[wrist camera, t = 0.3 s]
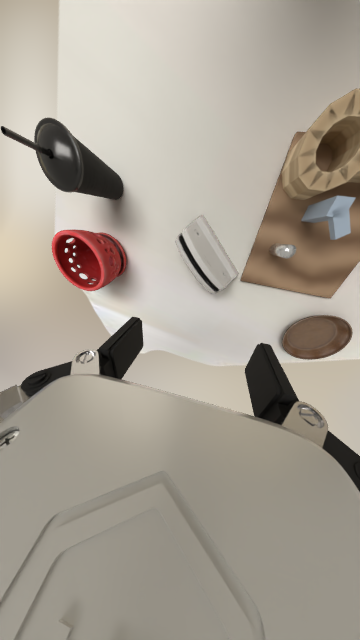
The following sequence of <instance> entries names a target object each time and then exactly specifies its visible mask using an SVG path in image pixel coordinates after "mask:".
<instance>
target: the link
mask: <svg viewBox="0 0 360 640" xmlns="http://www.w3.org/2000/svg"><path fill="white" fill-rule="evenodd" d="M319 143H324V144H328V145H329V147H330V148H331V149H332V162H331V164H330V166H329V168H328V170H327V172H323V171H320V169H319V168H318V167H317V165H316V150H317V148H318V146H319ZM346 182H354V183H360V89H354V90H353V91H351V92H349V93H348V94H346V95H344V96H343V97H341V98H339V99H338V100H336V101H334V102H333V103H331V104H330V105H329V106H328V107H327V108H326V109H325V111H324V112H323V113H322V114H321V115H320V116H319V118H318V119H317V120H316V121H315V122H314V124H313V125H312V126H311V127H310V128H309V129H308V131H307V132H306V133H305V134H304V135H303V137H302V138H301V139H300V140H299V141H298V143H297V144H296V145H295V146H294V148H293V149H292V150H291V151H290V152H289V155H288V157H287V160H286V163H285V165H284V168H283V171H282V183H283V190H284V191H285V192H286V193H287V194H288V196H289V197H290V198H291V199H299V200H306V199H309V198H311V197H313V196H316V195H318V194H320V193H323V192H325V191H327V190H330V189H332V188H334V187H336V186H339V185H341V184H343V183H346Z"/></svg>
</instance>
